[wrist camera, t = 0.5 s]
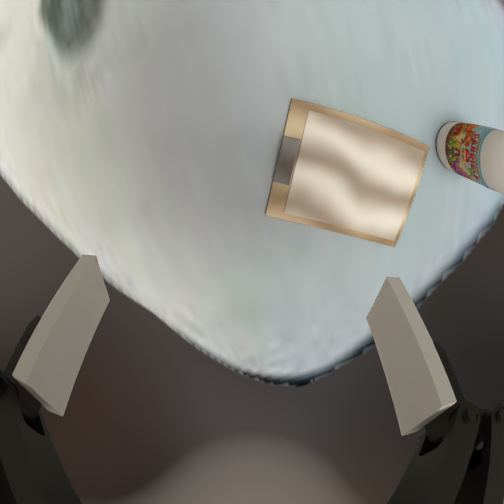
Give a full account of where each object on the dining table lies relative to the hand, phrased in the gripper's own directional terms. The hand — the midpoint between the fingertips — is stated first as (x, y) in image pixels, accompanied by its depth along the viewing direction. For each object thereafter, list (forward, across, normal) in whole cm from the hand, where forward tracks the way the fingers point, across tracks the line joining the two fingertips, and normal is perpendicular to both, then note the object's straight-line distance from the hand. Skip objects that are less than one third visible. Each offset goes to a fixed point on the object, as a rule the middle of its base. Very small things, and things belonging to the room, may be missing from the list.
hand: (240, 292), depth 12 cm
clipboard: (+25, +14, -2) cm, 29 cm away
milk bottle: (+25, +30, +6) cm, 39 cm away
